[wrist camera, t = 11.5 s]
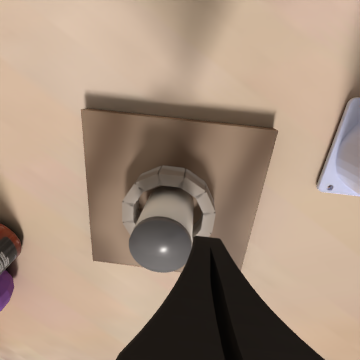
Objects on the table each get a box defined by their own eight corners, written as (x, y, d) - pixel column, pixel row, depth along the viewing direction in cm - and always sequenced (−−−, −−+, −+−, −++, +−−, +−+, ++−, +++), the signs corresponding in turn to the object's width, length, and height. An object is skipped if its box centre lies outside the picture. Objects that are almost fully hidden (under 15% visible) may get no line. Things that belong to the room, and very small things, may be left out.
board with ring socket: (273, 128, 18) (287, 135, 15) (236, 271, 25) (241, 296, 22) (87, 108, 19) (67, 112, 16) (97, 253, 25) (84, 274, 22)
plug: (195, 186, 20) (194, 224, 14) (191, 227, 21) (188, 275, 16) (147, 182, 20) (127, 217, 14) (147, 223, 22) (129, 268, 16)
